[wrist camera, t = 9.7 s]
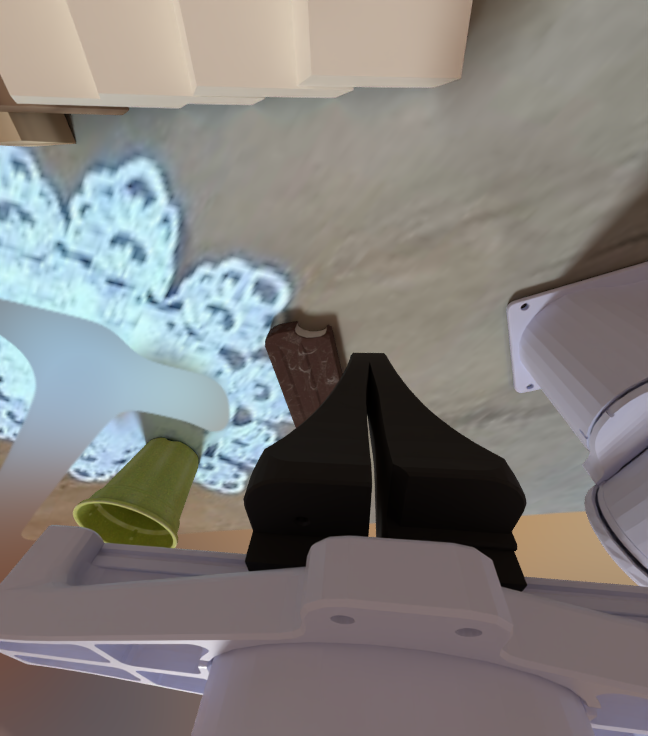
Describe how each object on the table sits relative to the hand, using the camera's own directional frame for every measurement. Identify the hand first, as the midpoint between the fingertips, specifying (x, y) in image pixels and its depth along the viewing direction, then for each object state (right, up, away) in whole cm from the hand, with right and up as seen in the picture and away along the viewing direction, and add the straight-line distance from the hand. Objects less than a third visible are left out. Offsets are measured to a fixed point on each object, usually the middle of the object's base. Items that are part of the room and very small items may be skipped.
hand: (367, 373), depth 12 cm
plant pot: (-19, -10, +22) cm, 31 cm away
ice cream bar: (-2, -2, +15) cm, 15 cm away
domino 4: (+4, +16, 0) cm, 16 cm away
